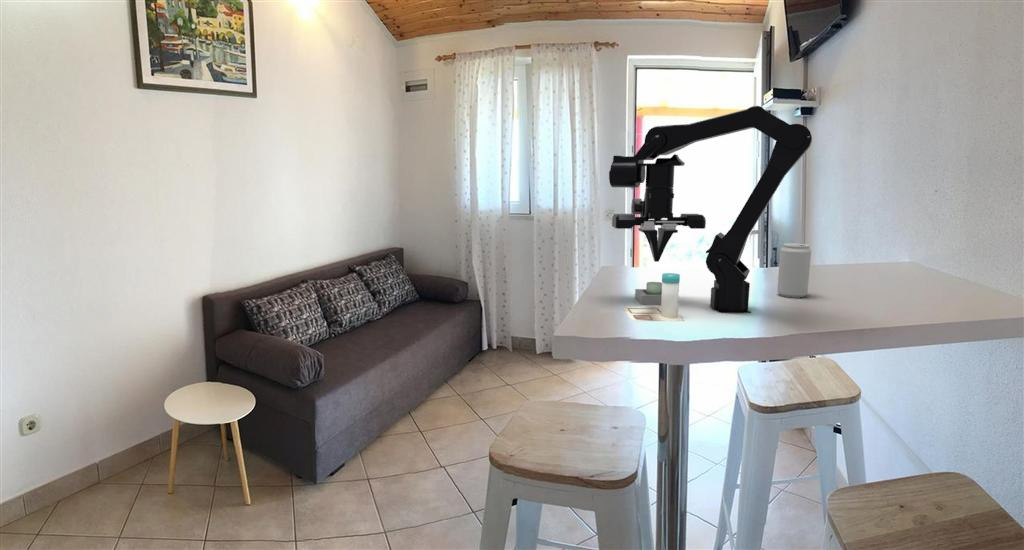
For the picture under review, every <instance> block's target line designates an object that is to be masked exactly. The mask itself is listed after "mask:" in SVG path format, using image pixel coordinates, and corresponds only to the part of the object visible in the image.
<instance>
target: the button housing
mask: <svg viewBox="0 0 1024 550" xmlns="http://www.w3.org/2000/svg"><path fill="white" fill-rule="evenodd" d="M634 291H635V292H634V299H635V300H636V301H637V302H638V303H639V304H640V306H661V298H662V294H646V288H635V290H634Z"/></svg>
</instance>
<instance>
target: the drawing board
mask: <svg viewBox="0 0 1024 550" xmlns="http://www.w3.org/2000/svg"><path fill="white" fill-rule="evenodd" d="M621 308H622V309H623V311H624V312H625V313H626V314H627V316H628V317H629V319H630V320H631V322H686V320H685V319H684V318H682V316H680V315H679V314H678V316H677V317H675V318H667V317H662V316H661V306H644V305H640V306H639V305H638V306H636V305H635V306H627V305H625V306H621Z"/></svg>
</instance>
